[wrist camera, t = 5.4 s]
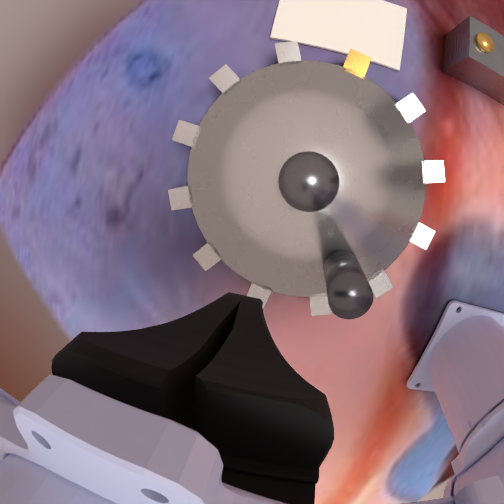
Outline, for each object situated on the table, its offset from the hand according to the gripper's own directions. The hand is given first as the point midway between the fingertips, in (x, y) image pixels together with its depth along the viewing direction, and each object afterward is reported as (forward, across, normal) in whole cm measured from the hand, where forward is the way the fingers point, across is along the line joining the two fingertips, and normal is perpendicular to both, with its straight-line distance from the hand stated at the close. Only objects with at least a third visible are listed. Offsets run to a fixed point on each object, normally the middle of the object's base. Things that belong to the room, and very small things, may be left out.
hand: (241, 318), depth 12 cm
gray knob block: (+9, -12, -15) cm, 21 cm away
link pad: (+8, -2, -16) cm, 18 cm away
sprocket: (+8, -2, -5) cm, 10 cm away
